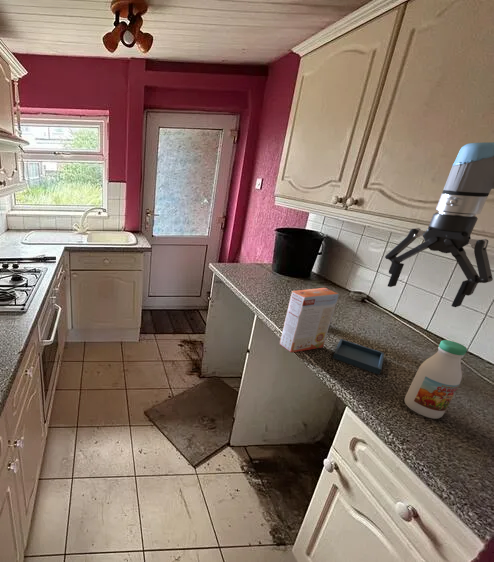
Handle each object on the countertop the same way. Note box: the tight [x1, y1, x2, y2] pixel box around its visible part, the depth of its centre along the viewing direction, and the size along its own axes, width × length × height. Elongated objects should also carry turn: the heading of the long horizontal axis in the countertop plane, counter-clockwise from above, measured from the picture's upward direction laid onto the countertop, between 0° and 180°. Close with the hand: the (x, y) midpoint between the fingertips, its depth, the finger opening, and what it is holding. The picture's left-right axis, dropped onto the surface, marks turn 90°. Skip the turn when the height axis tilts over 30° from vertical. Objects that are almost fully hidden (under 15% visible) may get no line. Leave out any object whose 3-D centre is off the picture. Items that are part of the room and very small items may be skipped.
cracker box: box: [279, 287, 340, 353], centre depth 106 cm, size 14×6×21 cm, turn 105°
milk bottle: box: [404, 339, 468, 420], centre depth 79 cm, size 8×8×20 cm
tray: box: [332, 338, 385, 376], centre depth 104 cm, size 12×12×2 cm
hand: (421, 295), depth 82 cm, fingers open, 13 cm apart
